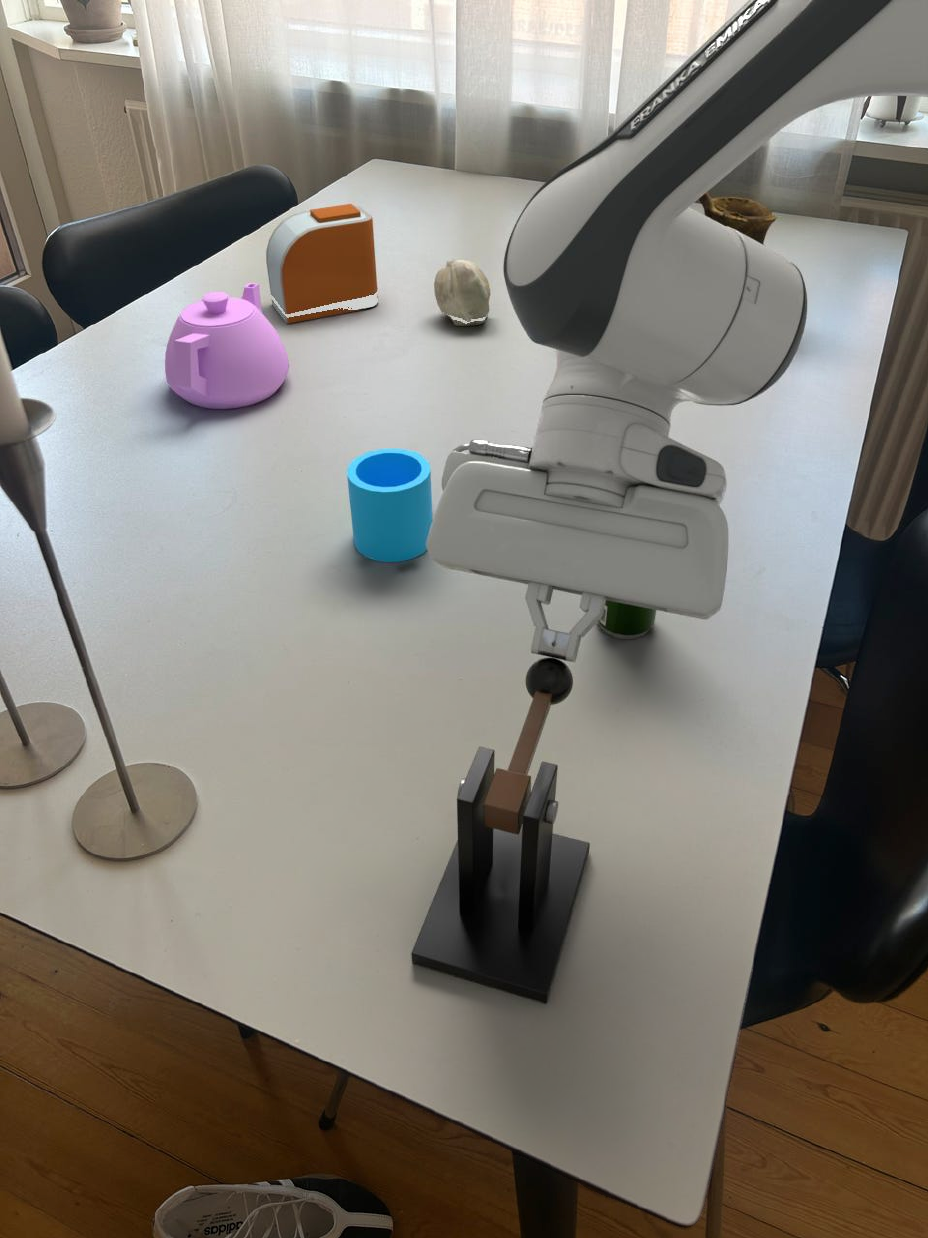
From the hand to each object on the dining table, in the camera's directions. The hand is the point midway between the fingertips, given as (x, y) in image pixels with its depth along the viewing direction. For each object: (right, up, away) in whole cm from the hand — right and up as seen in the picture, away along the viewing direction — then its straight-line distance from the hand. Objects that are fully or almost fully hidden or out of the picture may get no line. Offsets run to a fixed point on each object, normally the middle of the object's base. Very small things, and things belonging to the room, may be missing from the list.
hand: (552, 657), depth 65 cm
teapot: (-36, +33, +61) cm, 78 cm away
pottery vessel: (+23, +45, +75) cm, 90 cm away
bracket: (-3, -17, +1) cm, 17 cm away
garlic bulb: (-6, +46, +77) cm, 90 cm away
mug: (-13, +12, +36) cm, 40 cm away
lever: (-2, -6, -2) cm, 7 cm away
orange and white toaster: (-27, +50, +81) cm, 99 cm away
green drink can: (+9, +2, +24) cm, 25 cm away
